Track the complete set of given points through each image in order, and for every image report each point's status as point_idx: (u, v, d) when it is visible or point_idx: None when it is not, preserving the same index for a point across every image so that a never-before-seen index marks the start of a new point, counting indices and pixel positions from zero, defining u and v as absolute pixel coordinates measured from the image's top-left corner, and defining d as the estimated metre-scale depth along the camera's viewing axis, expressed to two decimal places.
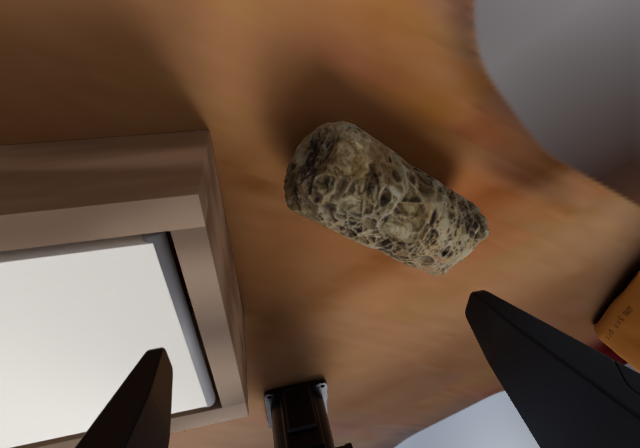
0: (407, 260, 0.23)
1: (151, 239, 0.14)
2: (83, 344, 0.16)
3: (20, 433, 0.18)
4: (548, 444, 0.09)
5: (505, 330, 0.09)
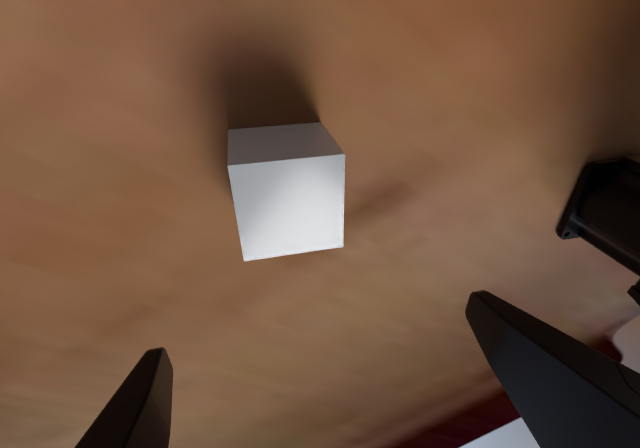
0: None
1: None
2: None
3: None
4: (548, 444, 0.09)
5: (505, 330, 0.09)
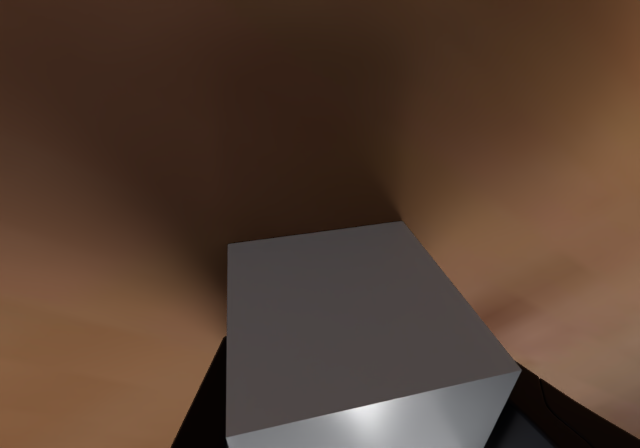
0: None
1: None
2: None
3: None
4: None
5: None
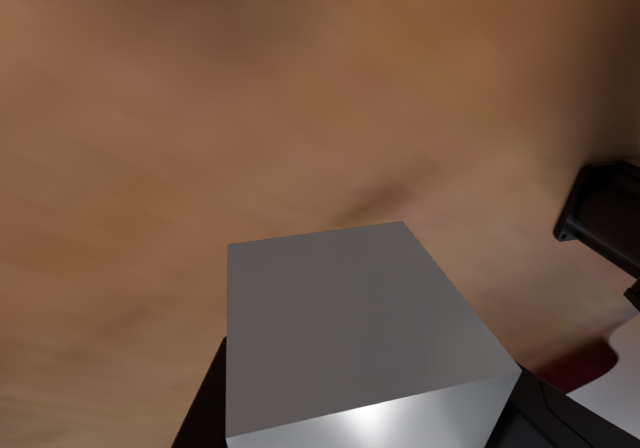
0: None
1: None
2: None
3: None
4: None
5: None
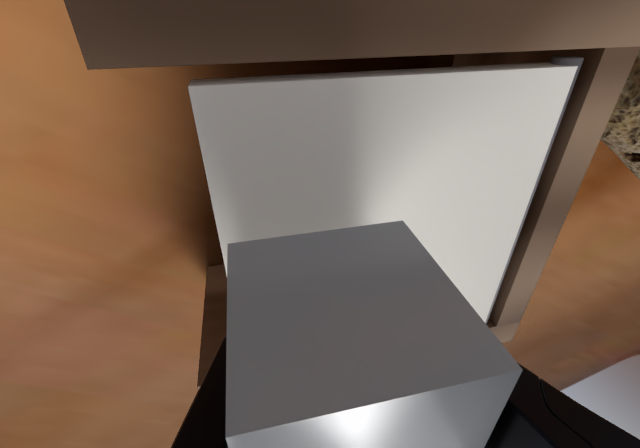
0: None
1: (575, 61, 0.11)
2: (427, 218, 0.13)
3: None
4: None
5: None
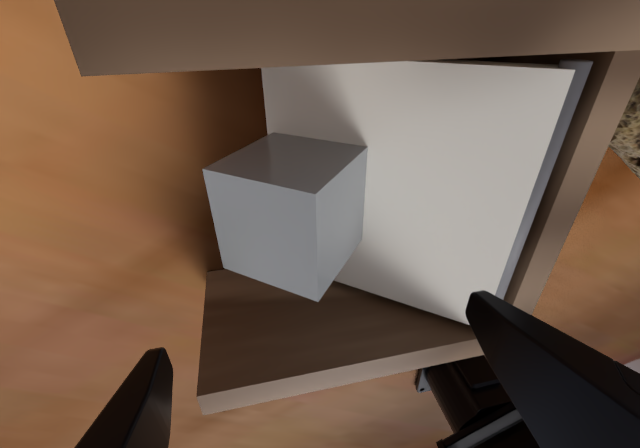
0: None
1: (575, 65, 0.11)
2: (414, 189, 0.15)
3: None
4: (548, 444, 0.09)
5: (505, 330, 0.09)
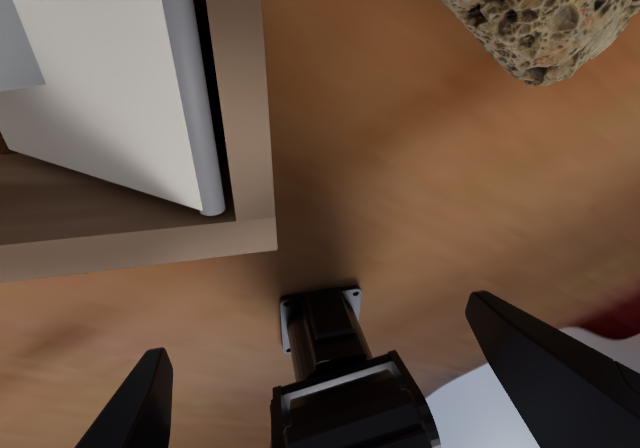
0: (531, 26, 0.14)
1: None
2: None
3: (29, 136, 0.15)
4: (548, 444, 0.09)
5: (505, 330, 0.09)
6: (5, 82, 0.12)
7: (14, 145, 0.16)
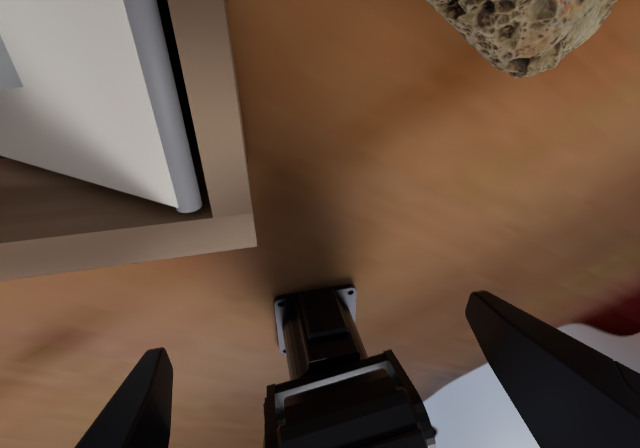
0: (509, 16, 0.14)
1: None
2: None
3: (13, 140, 0.15)
4: (548, 444, 0.09)
5: (505, 330, 0.09)
6: None
7: (0, 150, 0.16)
